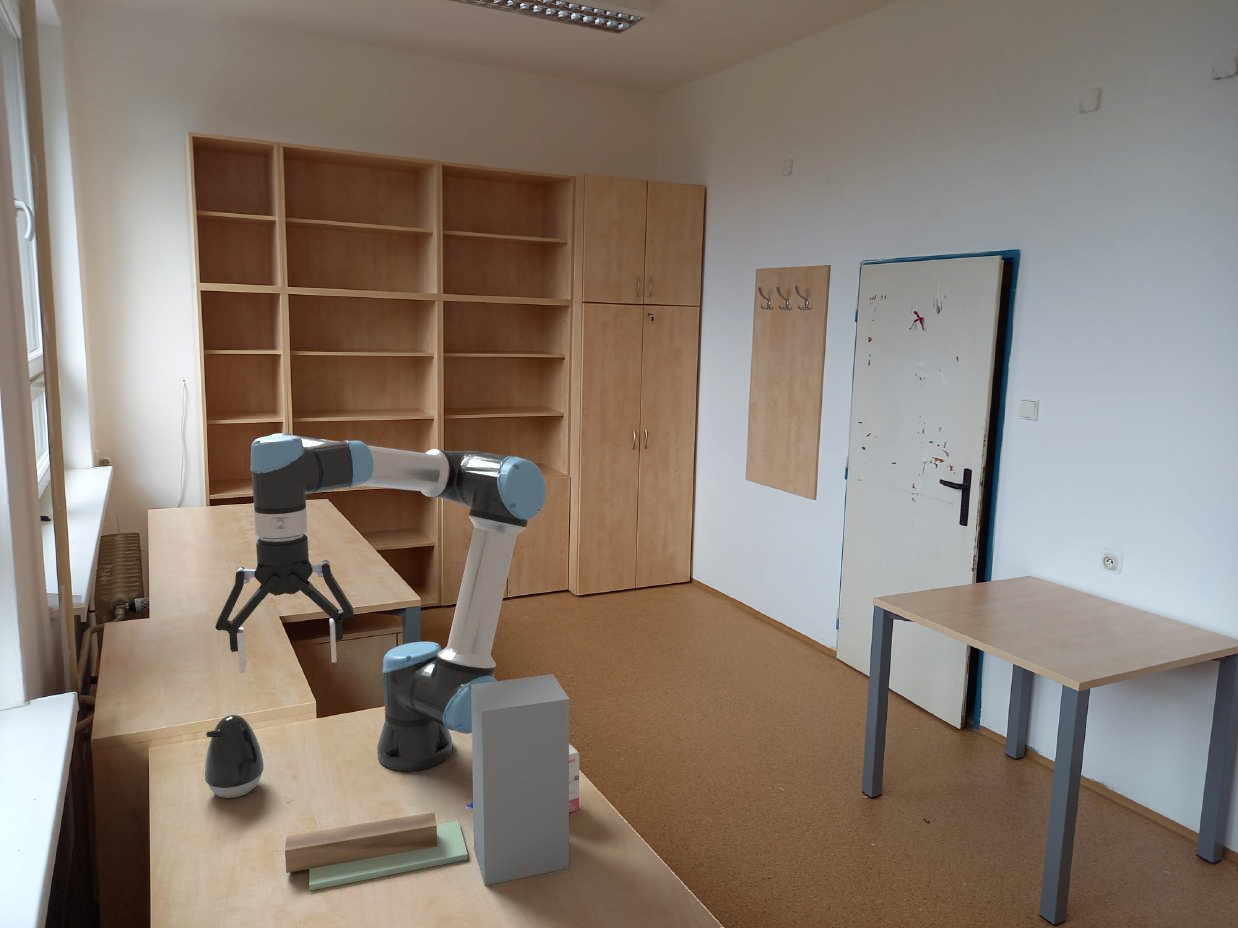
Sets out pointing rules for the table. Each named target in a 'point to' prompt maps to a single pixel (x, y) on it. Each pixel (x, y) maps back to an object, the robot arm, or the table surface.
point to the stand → (520, 777)
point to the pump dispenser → (233, 758)
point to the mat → (394, 861)
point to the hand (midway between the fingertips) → (289, 664)
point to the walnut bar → (360, 842)
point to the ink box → (573, 779)
